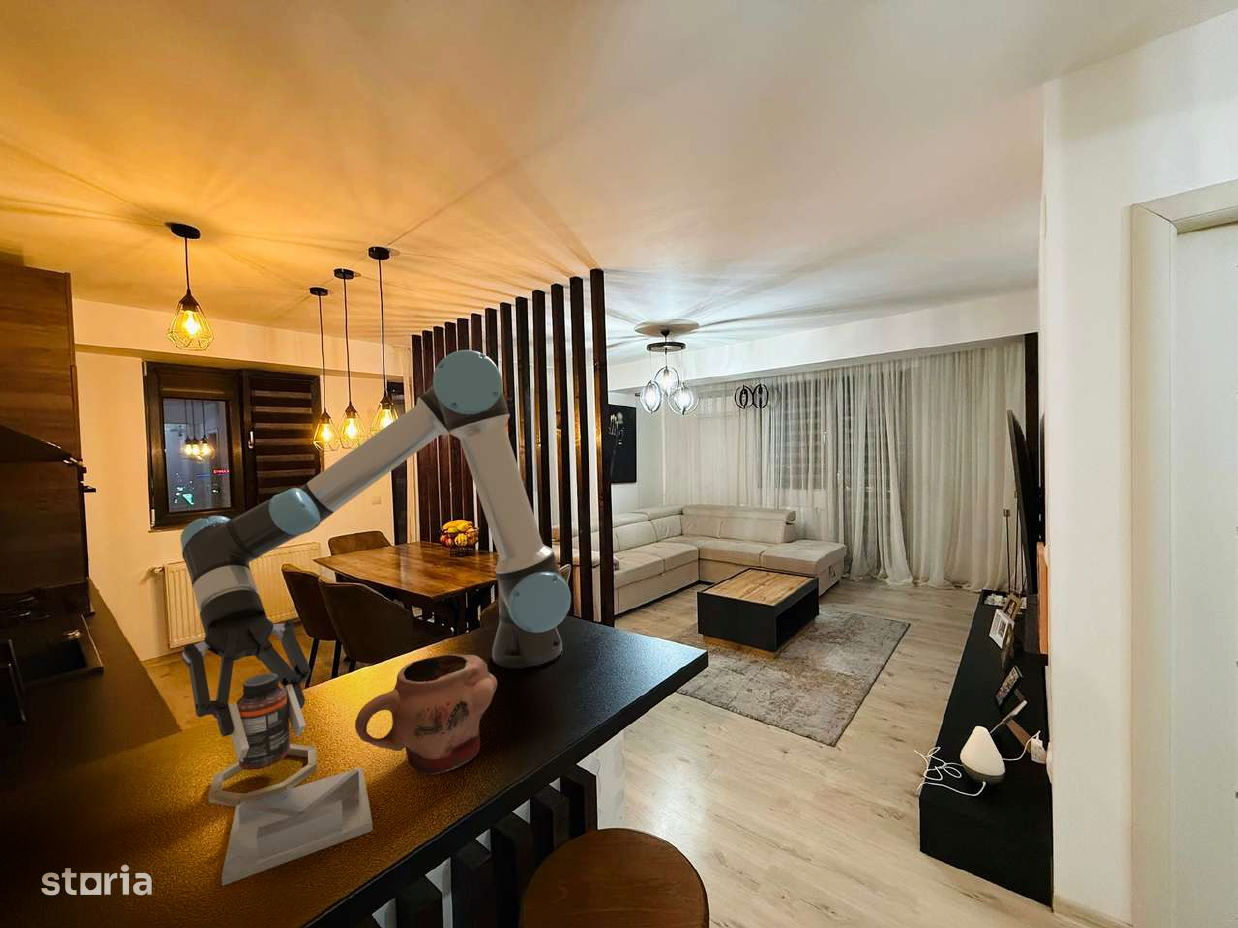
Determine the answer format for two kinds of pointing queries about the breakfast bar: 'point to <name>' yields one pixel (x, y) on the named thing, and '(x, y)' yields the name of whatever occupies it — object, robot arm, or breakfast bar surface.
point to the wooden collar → (237, 798)
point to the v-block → (296, 823)
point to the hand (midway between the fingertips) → (273, 741)
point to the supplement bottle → (264, 721)
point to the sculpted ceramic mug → (434, 711)
